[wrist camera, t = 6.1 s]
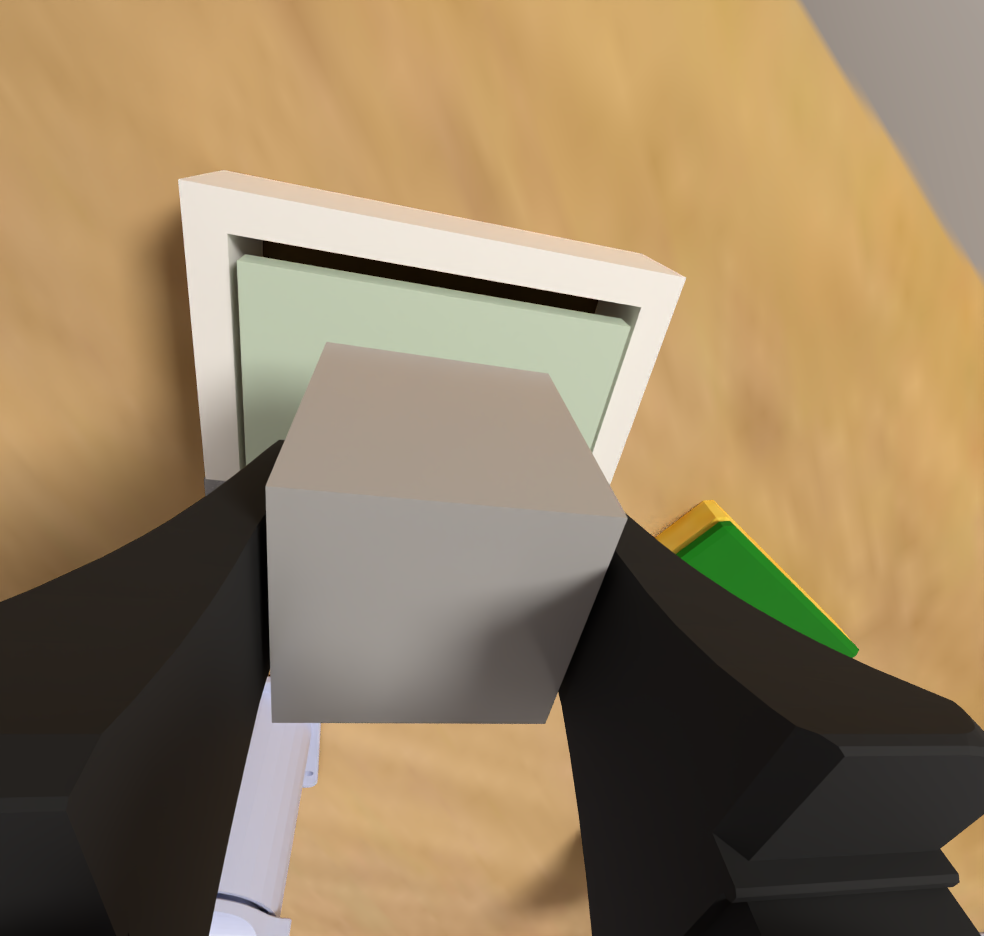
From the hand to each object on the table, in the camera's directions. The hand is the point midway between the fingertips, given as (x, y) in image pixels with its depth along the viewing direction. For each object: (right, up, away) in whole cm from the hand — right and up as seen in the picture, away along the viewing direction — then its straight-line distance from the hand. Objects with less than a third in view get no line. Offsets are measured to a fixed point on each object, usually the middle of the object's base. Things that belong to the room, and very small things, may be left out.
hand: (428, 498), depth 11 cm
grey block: (0, +1, +1) cm, 2 cm away
